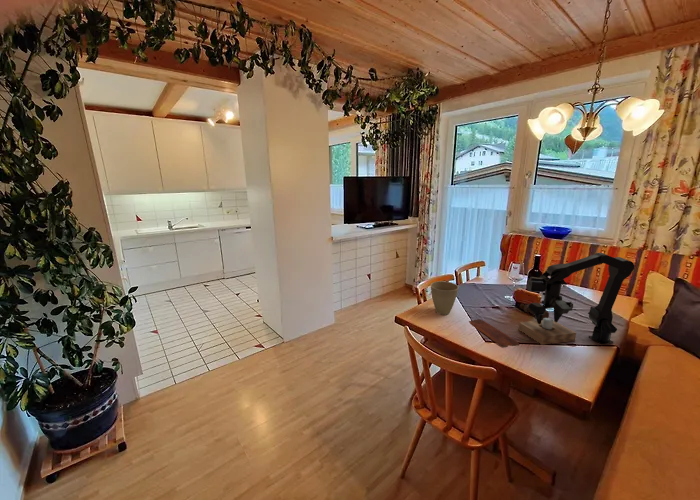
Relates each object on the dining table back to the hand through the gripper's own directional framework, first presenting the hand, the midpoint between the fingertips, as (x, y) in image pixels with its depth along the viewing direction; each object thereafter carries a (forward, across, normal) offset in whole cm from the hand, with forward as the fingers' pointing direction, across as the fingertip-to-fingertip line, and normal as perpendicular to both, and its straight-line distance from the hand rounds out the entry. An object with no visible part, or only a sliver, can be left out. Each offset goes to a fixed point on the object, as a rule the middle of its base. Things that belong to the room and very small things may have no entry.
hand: (547, 322), depth 138 cm
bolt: (+7, +11, +20) cm, 24 cm away
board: (+6, 0, 0) cm, 6 cm away
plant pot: (+7, -36, +33) cm, 50 cm away
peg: (+6, 0, 0) cm, 6 cm away
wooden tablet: (+7, -24, +8) cm, 26 cm away
